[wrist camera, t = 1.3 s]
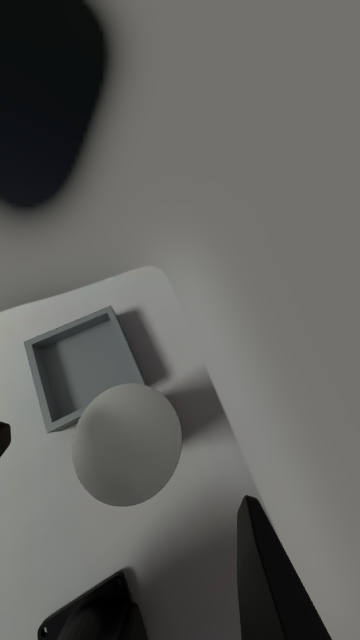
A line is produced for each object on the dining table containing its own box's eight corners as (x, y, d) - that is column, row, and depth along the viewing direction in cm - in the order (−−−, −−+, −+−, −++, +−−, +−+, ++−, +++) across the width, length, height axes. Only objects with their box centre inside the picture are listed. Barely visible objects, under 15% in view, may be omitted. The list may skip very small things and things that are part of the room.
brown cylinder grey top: (138, 466, 21) (92, 532, 9) (119, 413, 22) (59, 413, 11) (187, 438, 22) (201, 467, 10) (165, 389, 23) (154, 366, 12)
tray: (60, 431, 22) (46, 433, 19) (37, 348, 25) (23, 341, 22) (147, 387, 23) (144, 384, 21) (116, 315, 26) (110, 305, 24)
